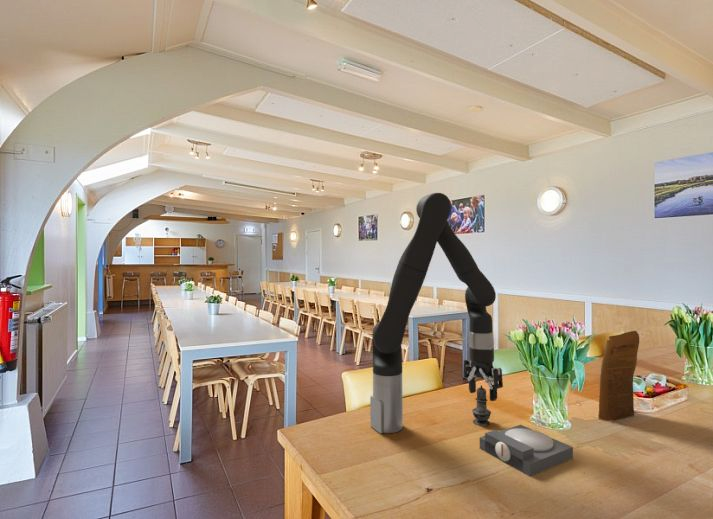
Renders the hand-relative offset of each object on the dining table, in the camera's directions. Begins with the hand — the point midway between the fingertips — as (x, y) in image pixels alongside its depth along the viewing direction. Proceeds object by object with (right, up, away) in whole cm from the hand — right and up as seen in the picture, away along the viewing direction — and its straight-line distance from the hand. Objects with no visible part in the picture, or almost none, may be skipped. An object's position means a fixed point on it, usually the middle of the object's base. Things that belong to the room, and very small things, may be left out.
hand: (482, 396), depth 125 cm
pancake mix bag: (+47, -8, +4) cm, 48 cm away
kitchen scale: (+5, -8, -20) cm, 22 cm away
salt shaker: (0, -9, 0) cm, 9 cm away
